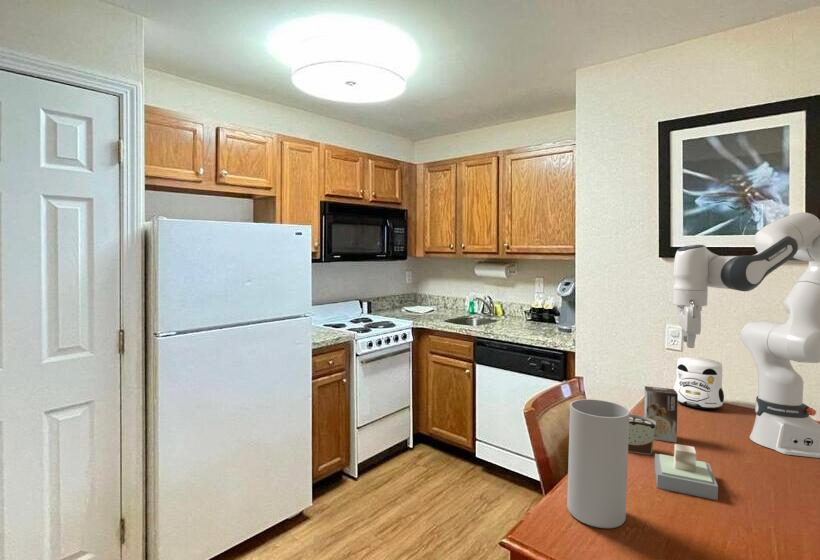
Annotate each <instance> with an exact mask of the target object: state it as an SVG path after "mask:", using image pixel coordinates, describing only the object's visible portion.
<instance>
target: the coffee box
mask: <svg viewBox="0 0 820 560" xmlns="http://www.w3.org/2000/svg"><path fill="white" fill-rule="evenodd" d="M643 403H644V404H643V407H644V408H643V416H644V417H647V418H650V419H652V420H654V421H655V422H656V424H657V427H658V430H657V429H655V435H654V441H656V440H657V441H665V442H668V443H669V442H670V443H677V441H678V439H677V438H678V436H677V435H678V403H679V402H678V394H677V392H676V391H675V390H674V388H667V387H666V388H665V387H657V386H656V387H655V386H647V385H646V386H645V385H644V402H643Z"/></svg>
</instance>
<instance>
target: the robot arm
mask: <svg viewBox="0 0 820 560" xmlns="http://www.w3.org/2000/svg"><path fill="white" fill-rule="evenodd" d="M753 244H754V248H755V250H756V252H757V253H755V254H751V255H747V254H746V255H725V256H724V255H719V254H715V253H714V252H712V251H710V250H709V249H708V248H707V246H706V245H704V244H692V245H685V246H682V247H680V248H678V249H677V250H676V252H675V256H674V260H673V277H674V284H673V286H672V287H673V288H672V305H676V309H677V311H676V312H677V320H678V325H680V327H681V328H682V341H683V342H684V343H686V347H687V348H689V349H694V348H695V343H696V338H697V335H701V331H702V311H703V307H706V306H708V293H709V291H708V290H709V288H715V289H716V288H717V289H727V290H734V291H739V292H750V291H752V290H754V289H756V288H757V287H758V286H759V285H760V284H761V283H762V282H763V280H764V279H765V278H766V277H767V276H768V275H769V274H771V273H772V272H775V270H777V269H778V268H780V267H781V266H782V265H784V264H785V263H787V262H788V261H790V260H793V261H803V262H804V261H805V262H808V267H807V269H805V271H804V272H803V273H802V274H801V276H799V278H798V279H797V281H796V282H795V283H794V285H793V287H792V288H791V289H790V291H789V292H788V294H787V296H786V297H785V298H784V300H783V307H784V309H785V311H786V312H787V314H789V316H788V318H787V321H786V322H783V323H781V322H775V321H769V320H759V321H757V320H755V321H750V322H747V323H746V324H745V325H744V326H743V327H742V330H741V332H740V339H741V342H742V344H743V345H744V347H746V348H747V350H748V351H749V352H750V354H751V357H752V358H753V360H754V362H755V366H756V369H757V370H756V371H757V374H758V375H757V377H758V378H757V379H758V386H757V387H758V388H757V396H755V397H756V398H755V403H754V404H755V406H754V407H755V408H754V412H755V419H754V423H753V427H752V429H751V433H750V435H749V439H750V440H751V441H752V442H754V443H755V444H758V445H760V446H762V447H766V448H769V449H772V450H774V451H776V452H778V453H781V454H784V455H788V456H791V455H792V456H798V457H799V456H800V457H808V458H817V459H820V423H818V421H816V420H815V419H813V417H814V416H815V415H817V410H815V409H814V408H813V407H810V406H809V405H807V404H805V403H803V398H804V380H803V376H801V375H800V374H799V373H798V372H797V371H796V370H795V368H794V367H793V365H792V363H791V361H793V362H797V363H806V364H817V363H820V219H819V218H818V216H816V215H815V214H813V213H809V212H803V211H802V212H797V213H792V214H790V215H787V216H784V217H781V218H779V219H776V220H774V221H772V222H770V223H768V224H766V225H765V226H763V227H761V228H760V229H759V230H758V231H757V232H756V233H755V234H754V238H753Z"/></svg>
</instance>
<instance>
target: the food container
mask: <svg viewBox="0 0 820 560" xmlns="http://www.w3.org/2000/svg"><path fill="white" fill-rule="evenodd" d="M655 429H657V430H658V427H657V424H656V422H655V421H654V420H652V419H650V418H647V417H644V415H639V414H632V413H629V438H628V453H636V454H641V455H642V454H643V455H652V453H653V447H654V443H655V442H654V441H655V440H654V435H655Z"/></svg>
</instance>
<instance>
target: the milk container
mask: <svg viewBox="0 0 820 560" xmlns="http://www.w3.org/2000/svg"><path fill="white" fill-rule="evenodd" d="M673 389H674V390H675V391H676V392H677V394H678V403H679V404H682V405H683V406H684V405H685V406H687V407H691V408H696V409H702V410H703V409H704V410H714V409H718V408H720V407H722V406H723V404H724V401H725V400H724V399H725V393H724V389H723V365H722V363H721V362H720V361H718V360H717V361H716V360H712V359H707V358H701V357H692V356H691V357H687V356H686V357H684V356H683V357H679V358H678V359H677V364H676V380H675V382H674V386H673Z"/></svg>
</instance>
